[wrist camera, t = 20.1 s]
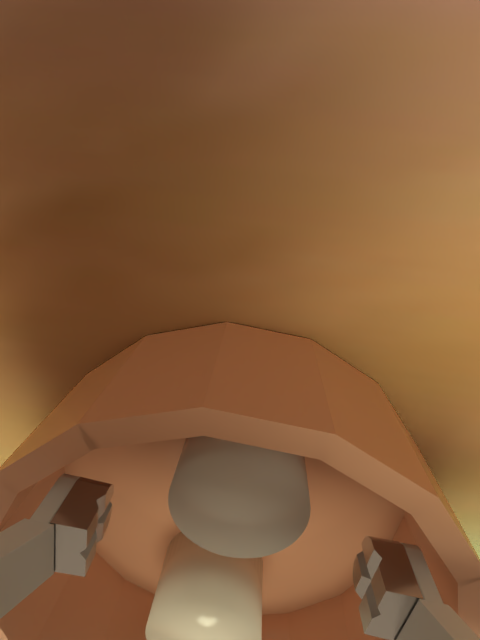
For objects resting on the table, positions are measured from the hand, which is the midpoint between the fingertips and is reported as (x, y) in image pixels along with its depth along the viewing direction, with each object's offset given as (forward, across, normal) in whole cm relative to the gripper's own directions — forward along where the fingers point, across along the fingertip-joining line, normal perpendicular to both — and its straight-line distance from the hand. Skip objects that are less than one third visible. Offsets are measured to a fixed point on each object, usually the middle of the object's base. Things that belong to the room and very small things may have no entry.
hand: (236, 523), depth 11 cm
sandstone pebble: (+4, 0, +7) cm, 8 cm away
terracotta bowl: (+5, 0, +4) cm, 6 cm away
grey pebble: (+4, 0, 0) cm, 4 cm away
